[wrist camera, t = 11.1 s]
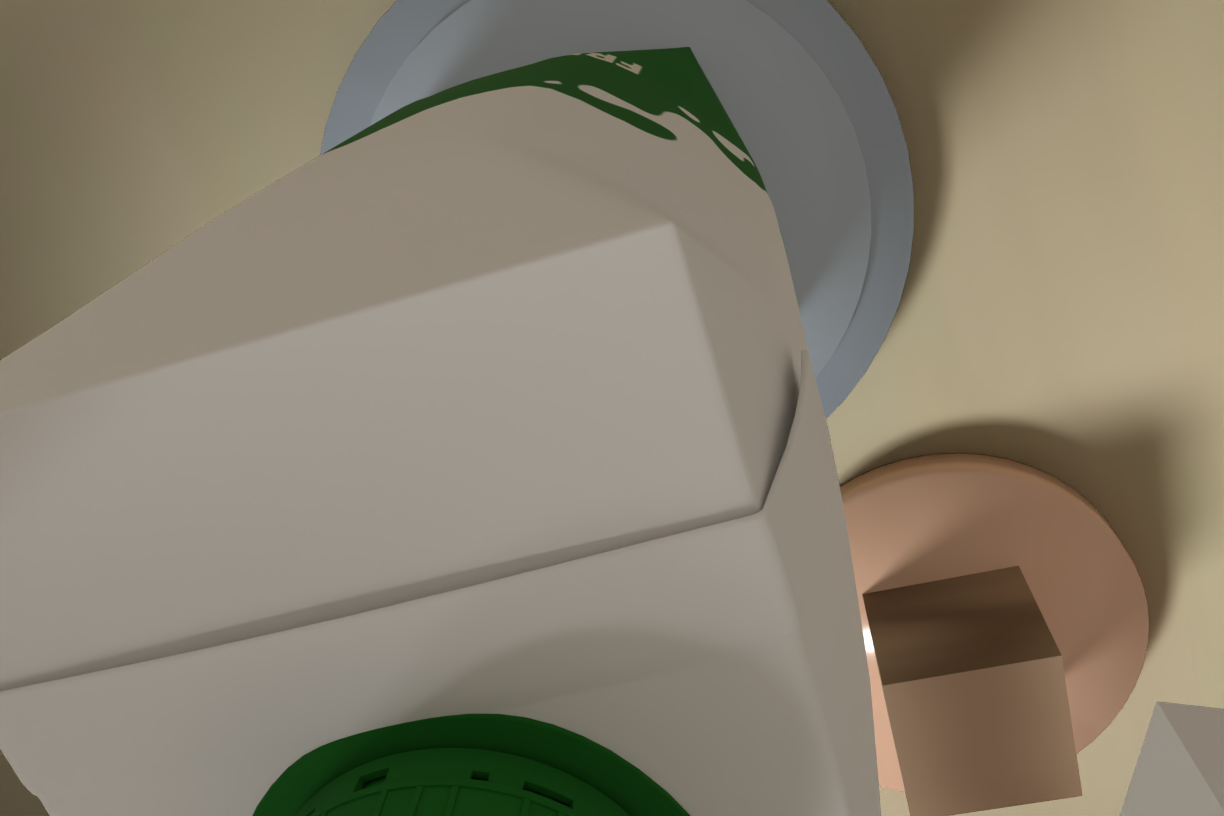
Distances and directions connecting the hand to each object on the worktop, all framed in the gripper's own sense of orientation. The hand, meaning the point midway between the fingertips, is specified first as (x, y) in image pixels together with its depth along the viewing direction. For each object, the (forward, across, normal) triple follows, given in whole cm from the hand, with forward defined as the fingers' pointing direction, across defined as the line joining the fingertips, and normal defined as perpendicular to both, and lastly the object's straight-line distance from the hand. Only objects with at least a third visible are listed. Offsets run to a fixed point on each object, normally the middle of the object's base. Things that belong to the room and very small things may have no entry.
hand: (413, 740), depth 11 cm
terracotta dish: (+19, +11, -10) cm, 24 cm away
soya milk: (+18, 0, 0) cm, 18 cm away
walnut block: (+18, +11, -10) cm, 23 cm away
